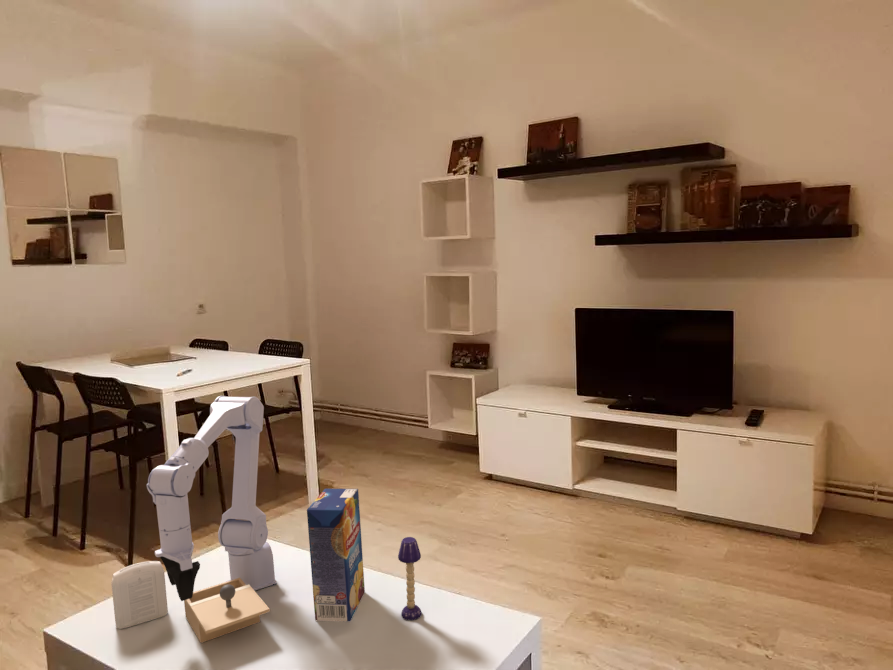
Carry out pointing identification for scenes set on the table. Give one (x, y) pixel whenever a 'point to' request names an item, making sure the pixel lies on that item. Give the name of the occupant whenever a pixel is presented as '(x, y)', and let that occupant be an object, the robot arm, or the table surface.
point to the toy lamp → (410, 576)
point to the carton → (209, 593)
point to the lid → (228, 607)
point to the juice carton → (336, 554)
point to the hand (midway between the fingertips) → (181, 590)
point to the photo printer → (139, 593)
